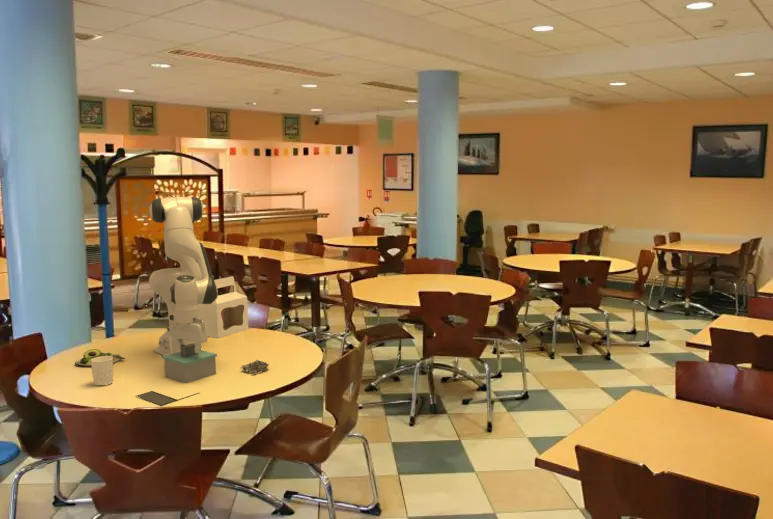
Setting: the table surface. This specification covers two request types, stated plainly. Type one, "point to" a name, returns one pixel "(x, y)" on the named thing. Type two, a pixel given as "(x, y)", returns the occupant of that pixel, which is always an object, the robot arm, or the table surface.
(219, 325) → the gable box
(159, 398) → the rubber mat
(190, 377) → the storage box
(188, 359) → the lid
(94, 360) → the tan cup
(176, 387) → the table surface
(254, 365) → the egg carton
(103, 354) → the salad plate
